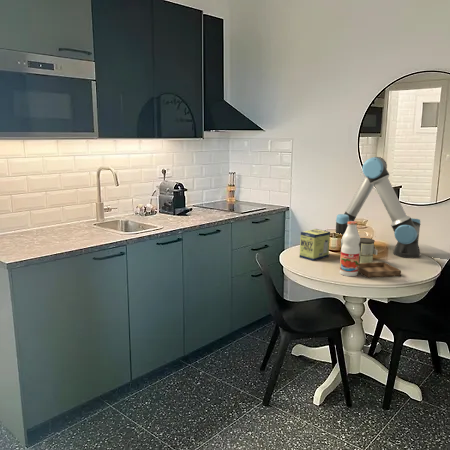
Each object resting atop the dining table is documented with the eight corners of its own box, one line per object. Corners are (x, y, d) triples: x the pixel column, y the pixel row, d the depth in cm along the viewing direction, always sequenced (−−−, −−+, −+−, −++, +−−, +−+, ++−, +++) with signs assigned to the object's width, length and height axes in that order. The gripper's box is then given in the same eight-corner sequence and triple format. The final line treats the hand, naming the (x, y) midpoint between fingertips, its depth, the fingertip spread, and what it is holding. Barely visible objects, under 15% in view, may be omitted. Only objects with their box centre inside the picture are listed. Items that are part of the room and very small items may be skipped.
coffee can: (350, 263, 257) (352, 239, 254) (358, 260, 264) (360, 236, 262) (368, 267, 250) (370, 242, 247) (375, 263, 258) (377, 239, 255)
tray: (383, 267, 251) (384, 261, 251) (400, 276, 236) (401, 270, 236) (352, 268, 247) (352, 263, 247) (367, 278, 232) (368, 272, 231)
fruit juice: (357, 272, 242) (361, 220, 236) (357, 277, 233) (362, 224, 227) (339, 270, 244) (343, 219, 238) (339, 275, 235) (342, 222, 229)
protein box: (298, 257, 268) (300, 231, 265) (314, 253, 278) (316, 228, 275) (313, 261, 261) (314, 235, 257) (329, 256, 271) (330, 231, 268)
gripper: (365, 248, 276) (385, 258, 255) (331, 250, 271) (349, 260, 250) (366, 236, 275) (386, 245, 253) (331, 237, 270) (350, 247, 248)
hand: (368, 252), depth 252 cm, fingers closed on coffee can, 10 cm apart
